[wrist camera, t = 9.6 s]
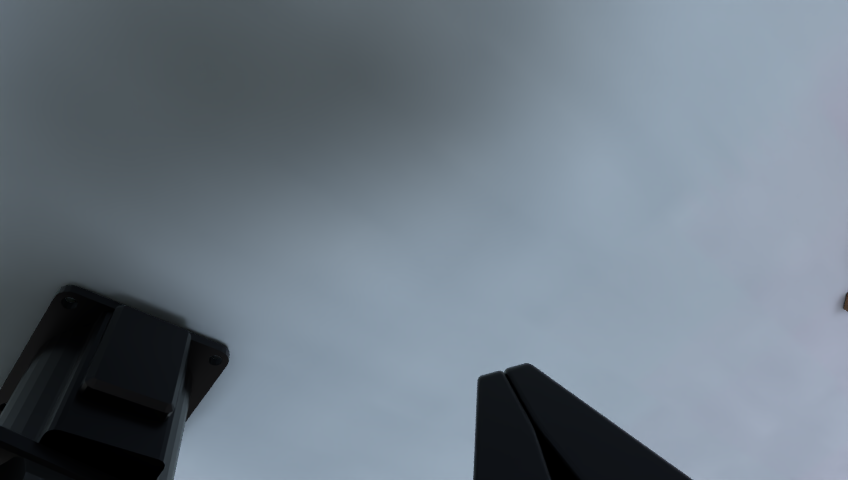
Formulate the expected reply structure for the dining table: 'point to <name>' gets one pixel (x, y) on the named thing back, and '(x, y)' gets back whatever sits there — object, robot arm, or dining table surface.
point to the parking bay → (846, 303)
